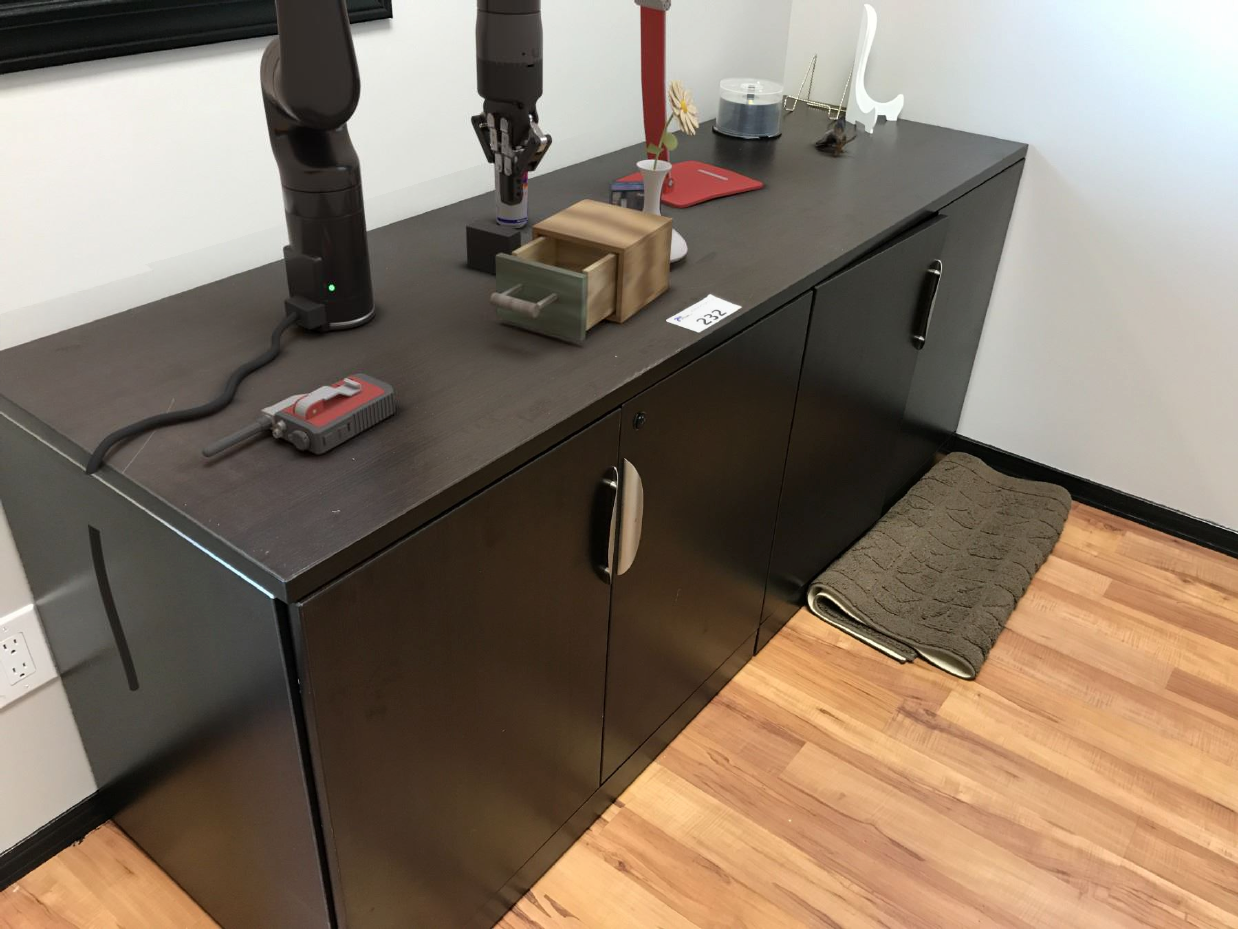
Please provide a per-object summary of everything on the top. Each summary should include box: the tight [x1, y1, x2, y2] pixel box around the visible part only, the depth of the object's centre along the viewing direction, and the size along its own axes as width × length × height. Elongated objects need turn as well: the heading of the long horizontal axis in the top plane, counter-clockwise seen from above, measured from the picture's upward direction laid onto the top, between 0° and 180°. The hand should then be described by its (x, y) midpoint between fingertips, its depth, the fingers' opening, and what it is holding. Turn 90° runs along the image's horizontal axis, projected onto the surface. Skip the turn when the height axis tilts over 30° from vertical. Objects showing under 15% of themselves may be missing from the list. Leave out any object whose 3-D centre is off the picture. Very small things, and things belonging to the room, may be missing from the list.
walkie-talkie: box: [201, 372, 396, 458], centre depth 102 cm, size 9×4×20 cm
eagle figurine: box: [815, 114, 858, 158], centre depth 200 cm, size 8×7×9 cm
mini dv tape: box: [608, 180, 662, 213], centre depth 161 cm, size 8×2×6 cm, turn 101°
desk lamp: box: [616, 0, 764, 209], centre depth 170 cm, size 18×38×40 cm, turn 133°
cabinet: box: [531, 198, 674, 324], centre depth 134 cm, size 14×14×10 cm
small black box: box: [465, 220, 522, 275], centre depth 141 cm, size 3×7×6 cm, turn 61°
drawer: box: [489, 235, 619, 342], centre depth 125 cm, size 18×12×8 cm
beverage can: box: [493, 156, 529, 229], centre depth 154 cm, size 5×5×15 cm
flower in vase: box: [636, 78, 700, 264], centre depth 142 cm, size 13×11×25 cm
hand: (511, 203), depth 122 cm, fingers closed
